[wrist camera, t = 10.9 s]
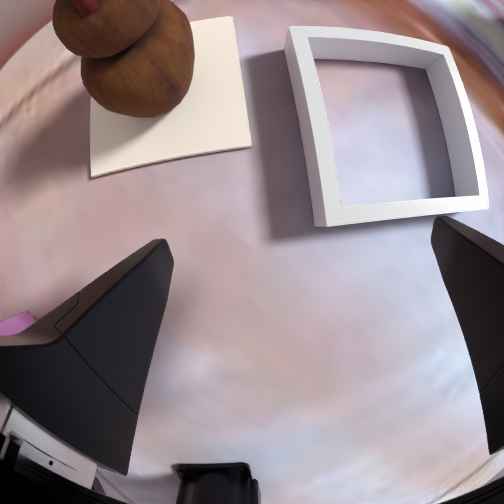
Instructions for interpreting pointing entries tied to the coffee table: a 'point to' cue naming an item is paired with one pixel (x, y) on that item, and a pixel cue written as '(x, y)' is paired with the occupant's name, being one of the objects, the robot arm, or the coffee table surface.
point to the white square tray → (318, 133)
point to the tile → (181, 111)
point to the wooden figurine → (129, 52)
